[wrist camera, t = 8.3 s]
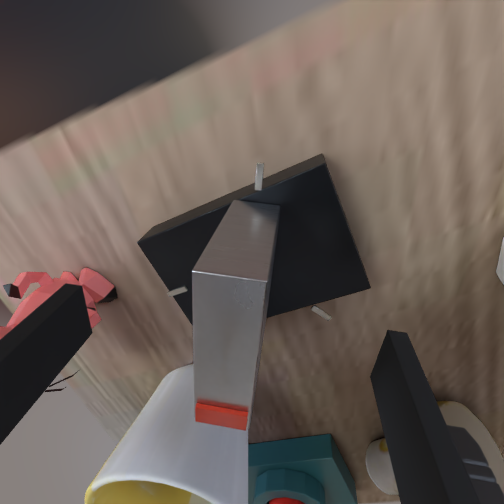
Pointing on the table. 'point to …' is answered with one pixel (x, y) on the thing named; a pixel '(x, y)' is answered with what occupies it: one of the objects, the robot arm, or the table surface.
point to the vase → (501, 264)
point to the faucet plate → (287, 244)
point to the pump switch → (299, 472)
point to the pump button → (285, 501)
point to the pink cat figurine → (90, 280)
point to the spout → (232, 313)
